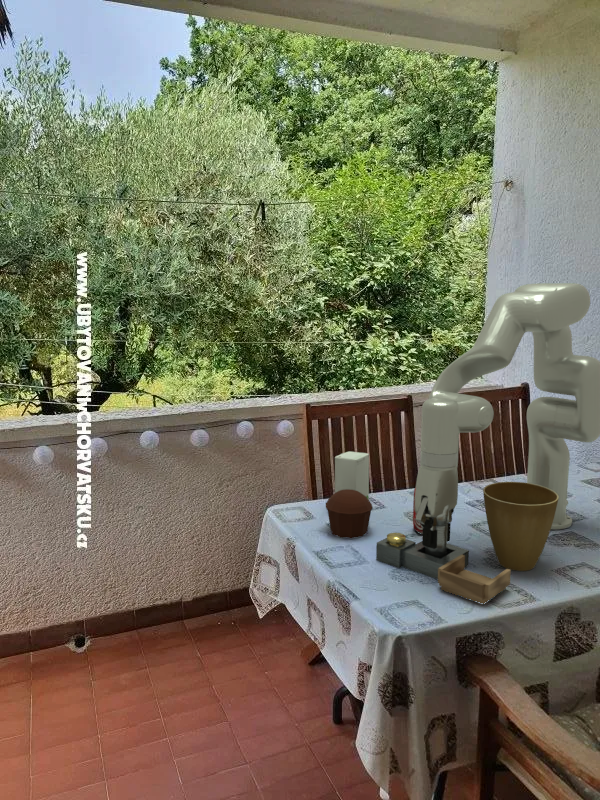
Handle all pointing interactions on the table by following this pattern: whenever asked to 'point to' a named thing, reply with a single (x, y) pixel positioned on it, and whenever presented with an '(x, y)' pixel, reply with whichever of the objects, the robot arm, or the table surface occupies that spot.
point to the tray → (470, 581)
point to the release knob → (396, 539)
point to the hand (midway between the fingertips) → (436, 542)
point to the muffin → (349, 513)
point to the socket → (416, 557)
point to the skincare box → (352, 472)
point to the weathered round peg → (440, 535)
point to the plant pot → (519, 521)
